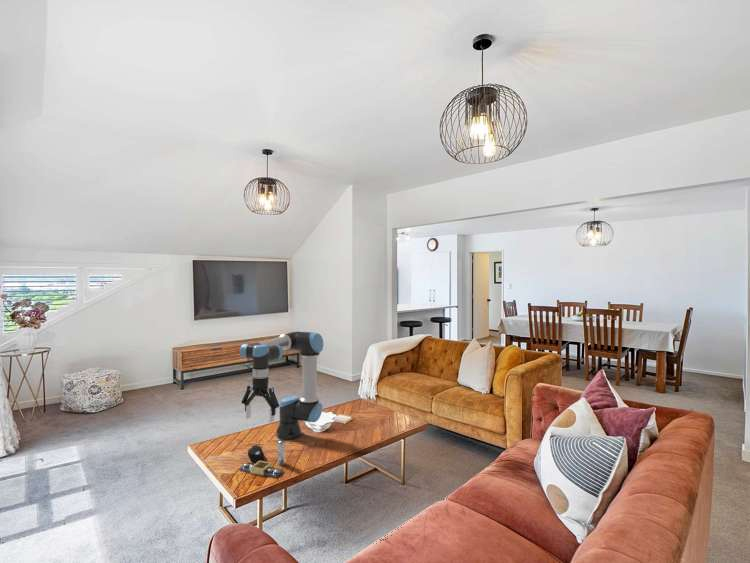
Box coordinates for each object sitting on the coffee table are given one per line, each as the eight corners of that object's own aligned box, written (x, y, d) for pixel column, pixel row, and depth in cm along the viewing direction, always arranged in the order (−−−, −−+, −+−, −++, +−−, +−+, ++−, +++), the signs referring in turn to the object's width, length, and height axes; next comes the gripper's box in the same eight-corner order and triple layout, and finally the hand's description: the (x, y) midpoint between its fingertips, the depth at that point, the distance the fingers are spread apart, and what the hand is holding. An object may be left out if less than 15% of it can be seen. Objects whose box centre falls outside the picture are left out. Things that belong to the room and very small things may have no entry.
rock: (270, 455, 213) (270, 445, 213) (262, 463, 204) (262, 452, 204) (252, 454, 215) (252, 443, 215) (244, 461, 206) (244, 450, 206)
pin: (279, 461, 207) (280, 439, 207) (286, 462, 205) (286, 440, 205) (275, 464, 203) (275, 442, 203) (282, 466, 201) (282, 443, 201)
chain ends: (248, 463, 203) (248, 458, 203) (284, 471, 196) (284, 465, 196) (238, 470, 196) (238, 464, 196) (275, 478, 189) (275, 472, 189)
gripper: (234, 376, 191) (233, 419, 191) (278, 381, 182) (277, 426, 183) (244, 372, 198) (243, 414, 198) (286, 377, 190) (286, 420, 190)
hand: (259, 420), depth 190 cm, fingers open, 13 cm apart
